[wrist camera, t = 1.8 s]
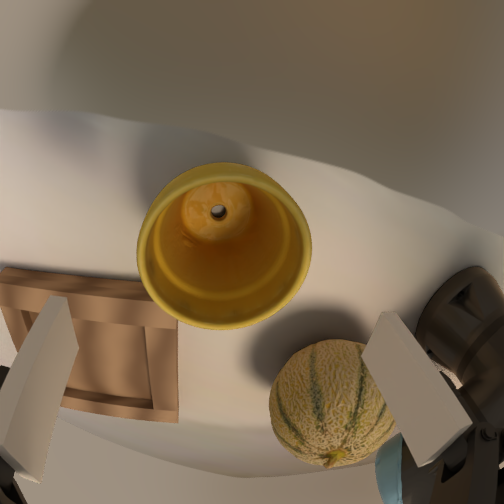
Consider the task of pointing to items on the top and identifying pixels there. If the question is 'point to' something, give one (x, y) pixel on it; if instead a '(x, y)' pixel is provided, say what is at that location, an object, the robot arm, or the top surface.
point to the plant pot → (223, 247)
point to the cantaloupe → (329, 405)
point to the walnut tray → (104, 342)
